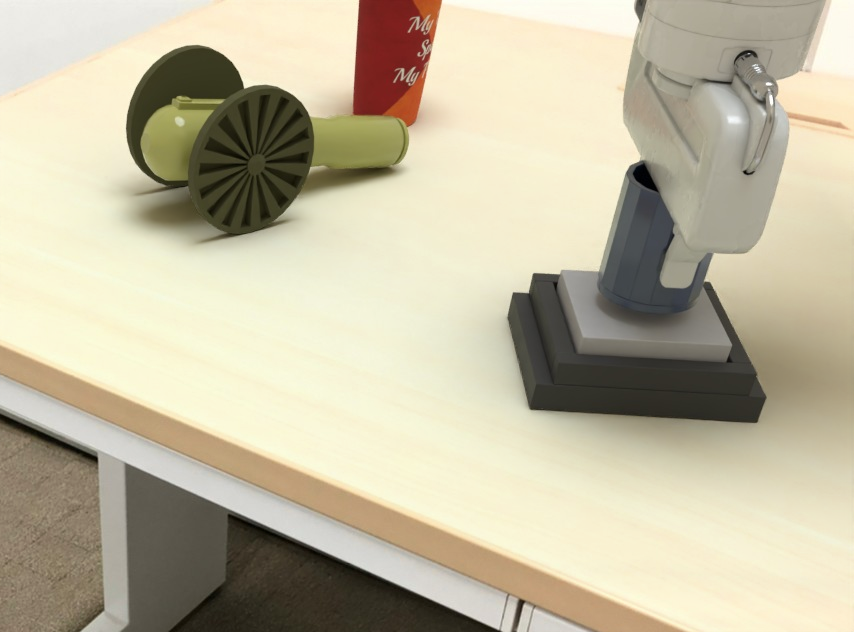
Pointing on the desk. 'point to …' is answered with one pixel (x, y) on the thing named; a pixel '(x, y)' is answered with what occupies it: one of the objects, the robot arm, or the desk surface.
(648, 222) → the small cup
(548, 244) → the desk surface
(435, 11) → the coffee cup
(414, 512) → the desk surface
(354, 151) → the cannon
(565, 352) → the scale
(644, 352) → the pan
